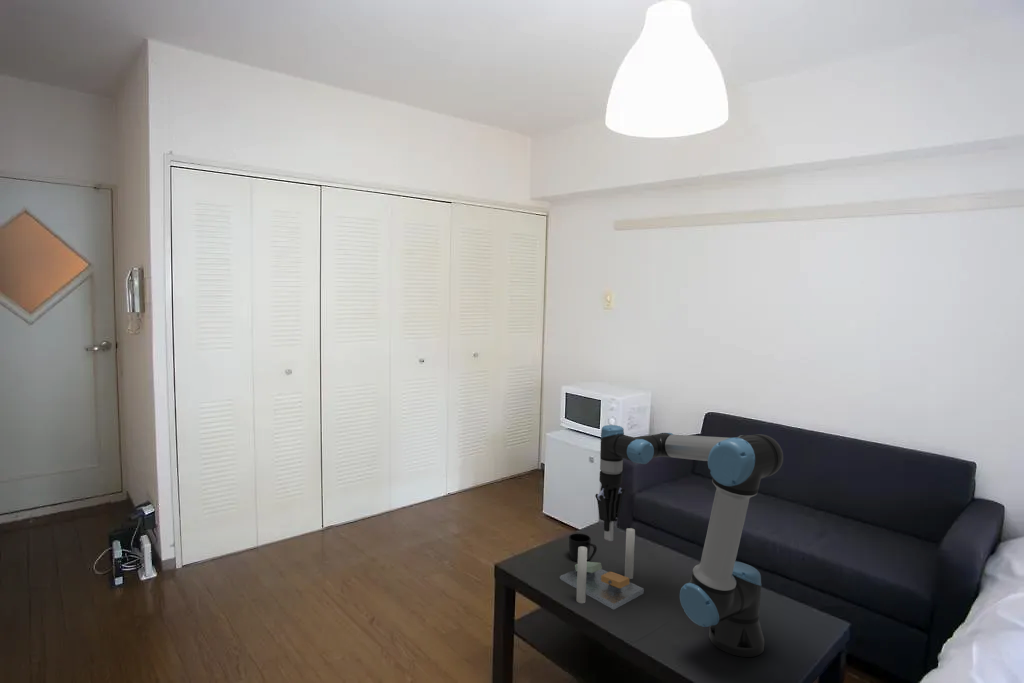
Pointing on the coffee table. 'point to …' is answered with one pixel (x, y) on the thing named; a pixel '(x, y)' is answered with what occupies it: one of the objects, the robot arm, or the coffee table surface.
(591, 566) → the rocker on
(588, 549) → the mug
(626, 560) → the cord post right
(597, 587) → the panel
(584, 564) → the cord post left
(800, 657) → the coffee table surface
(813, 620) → the coffee table surface
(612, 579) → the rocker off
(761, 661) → the coffee table surface
